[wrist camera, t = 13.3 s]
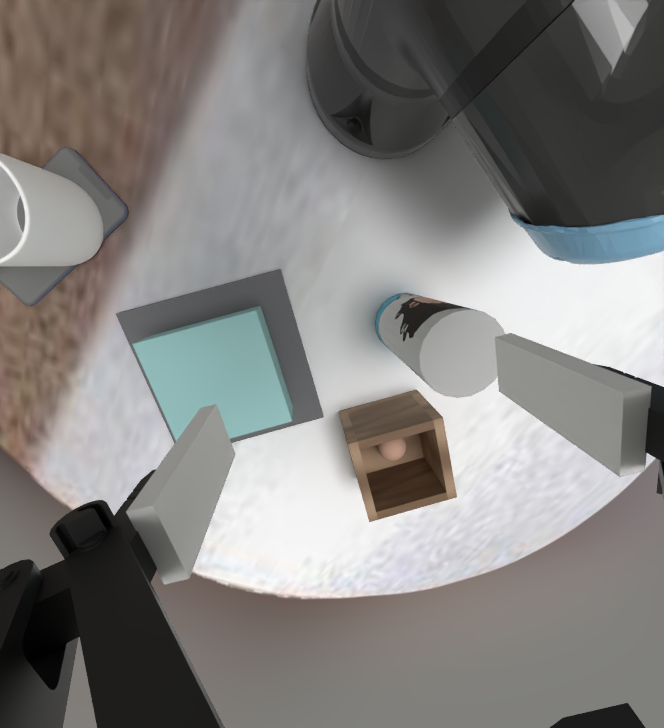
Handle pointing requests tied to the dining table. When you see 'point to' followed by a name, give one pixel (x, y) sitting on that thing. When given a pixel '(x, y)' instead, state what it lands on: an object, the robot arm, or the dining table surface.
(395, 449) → the ball
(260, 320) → the lid
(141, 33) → the dining table surface
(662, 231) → the robot arm
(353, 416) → the box
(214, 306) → the mat
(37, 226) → the mug
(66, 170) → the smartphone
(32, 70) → the dining table surface
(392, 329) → the printed grey cylinder
